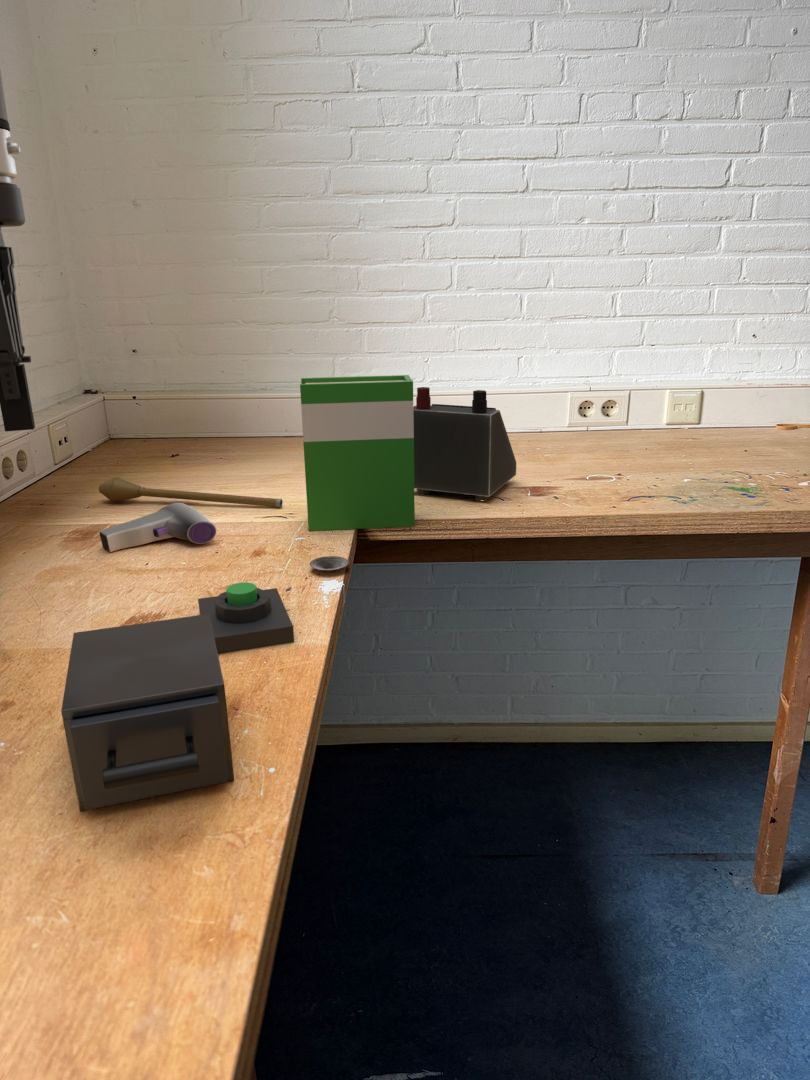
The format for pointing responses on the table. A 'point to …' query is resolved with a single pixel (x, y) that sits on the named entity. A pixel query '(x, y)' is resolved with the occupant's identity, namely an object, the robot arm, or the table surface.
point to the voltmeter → (460, 447)
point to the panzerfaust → (176, 494)
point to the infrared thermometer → (160, 528)
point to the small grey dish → (329, 563)
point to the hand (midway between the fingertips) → (20, 428)
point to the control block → (248, 622)
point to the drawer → (149, 750)
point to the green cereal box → (358, 451)
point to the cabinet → (142, 673)
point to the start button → (241, 593)
